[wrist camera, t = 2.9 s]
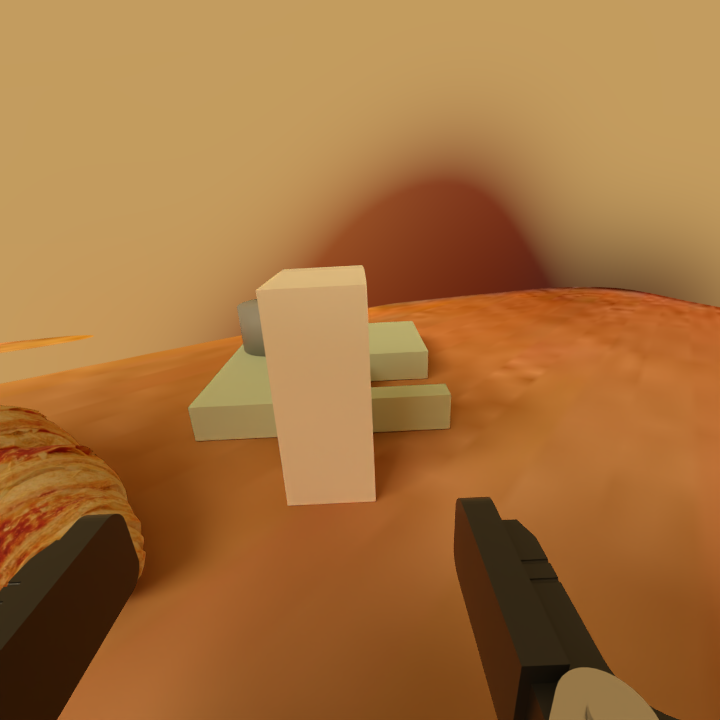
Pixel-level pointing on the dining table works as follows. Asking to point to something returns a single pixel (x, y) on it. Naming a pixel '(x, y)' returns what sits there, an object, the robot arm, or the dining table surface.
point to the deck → (253, 394)
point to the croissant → (50, 488)
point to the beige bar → (320, 382)
